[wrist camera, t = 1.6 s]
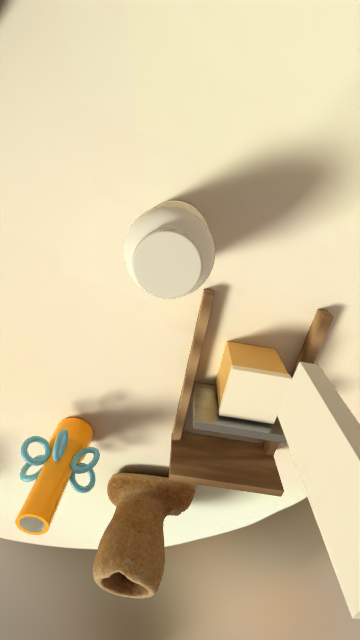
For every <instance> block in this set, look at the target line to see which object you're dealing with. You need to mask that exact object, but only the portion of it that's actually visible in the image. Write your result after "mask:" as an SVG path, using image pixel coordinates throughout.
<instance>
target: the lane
mask: <svg viewBox="0 0 360 640" xmlns="http://www.w3.org/2000/svg"><path fill="white" fill-rule="evenodd" d="M213 300H214V292H213V290H207V289H204V292H203V296H202V301H201V305H200V310H199V314H198V319H197V324H196V328H195V333H194V337H193V342H192V346H191V351H190V355H189V360H188V364H187V369H186V374H185V378H184V383H183V387H182V392H181V396H180V401H179V405H178V410H177V415H176V419H175V424H174V428H173V433H172V440H171V453H170V467H169V480H173V481H179V482H186V483H193V484H200V485H207V486H213V487H220V488H227V489H234V490H240V491H247V492H254V493H261V494H268V495H274V496H282V494H283V492H284V490H283V486H282V483H281V480H280V476H279V473H278V470H277V466H276V463H275V460H274V456H273V455H274V453H275V451H276V448H277V446H278V444H279V442H275V441H269V440H265V442H264V444H263V445H262V444H256V443H249V442H243V441H236V440H230V439H223V438H217V437H211V436H204V435H198V434H191V433H185V432H182V430H183V426H184V422H185V417H186V413H187V409H188V405H189V401H190V396H191V392H192V388H193V384H194V379H195V375H196V371H197V367H198V363H199V358H200V354H201V350H202V346H203V342H204V337H205V333H206V329H207V325H208V321H209V316H210V312H211V308H212V304H213ZM332 319H333V316H332V315H331V314H330V313H329V312H328V311H326V310H320V309H318V310H317V313H316V315H315V318H314V320H313V323H312V325H311V328H310V330H309V333H308V335H307V338H306V340H305V342H304V345H303V347H302V350H301V352H300V355H299V357H298V360H297V362H296V365H295V367H294V370H293V372H292V375H291V378H293V376H294V373H295V371H296V369H297V366H298V364H299V362H305V363H311V364H313V363H314V361H315V358H316V356H317V354H318V351H319V349H320V347H321V344H322V342H323V340H324V338H325V335H326V333H327V331H328V328H329V326H330V324H331V321H332Z"/></svg>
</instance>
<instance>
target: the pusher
mask: <svg viewBox="0 0 360 640" xmlns="http://www.w3.org/2000/svg"><path fill="white" fill-rule="evenodd" d="M218 410H219V403H218V395H217V387H216V386H215V385H208V384H202V383H196V382H194V385H193V429H198V430H205V431H211V432H218V433H224V434H230V435H237V436H243V437H250V438H256V439H262V440H269V441H275V442H282V443H287V440H286V438H285V435H284V432H283V429H282V427H281V424H280V421H279V419H278V416H277V417H276V420H275V422H274V424H270V423H264V422H258V421H252V420H245V419H239V418H233V417H226V416H220V415H219V411H218Z"/></svg>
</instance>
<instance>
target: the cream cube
mask: <svg viewBox="0 0 360 640" xmlns="http://www.w3.org/2000/svg"><path fill="white" fill-rule="evenodd" d="M291 380H292V378H291V376H290V374H288V372H287V371H286V369H285V367H284V365H283V363H282V361H281V359H280V357H279V355H278V353H277V351H276V349H271V348H265V347H259V346H253V345H247V344H241V343H235V342H230V341H227V343H226V346H225V350H224V354H223V357H222V361H221V365H220V368H219V372H218V375H217V379H216V387H217V395H218V403H219V410H218V411H219V415H220V416H226V417H233V418H239V419H245V420H252V421H258V422H264V423H270V424H274V422H275V420H276V417H277V413H278V410H279V408H280V406H281V403H282V401H283V399H284V397H285V394H286V392H287V390H288V387H289V385H290V383H291Z"/></svg>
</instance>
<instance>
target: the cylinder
mask: <svg viewBox="0 0 360 640" xmlns="http://www.w3.org/2000/svg"><path fill="white" fill-rule="evenodd" d="M92 437H93V430H92V428H91V426H90V425H89V424H88V423H87V422H86V421H84V420H82V419H79V418H66V419H64V420H62V421H61V422H60V423H59V424H58V426H57V427H56V429H55V431H54V433H53V435H52V437H51V438H50V440H49V442H47V440H45V439H44V438H42V437H39V436H33V437H30V438H28V439H27V440H25V441H24V443H23V445H22V447H21V454H22V457H23V459H24V460H25V461H26V462H27V463H26V464H25V465H24V466H23V468H22V470H21V472H20V478H21V480H23V481H25V482H29V481H33V480H35V479H37V480H36V482H35V484H34V485H33V487H32V489H31V491H30V493H29V495H28V497H27V499H26V501H25V503H24V505H23V507H22V509H21V511H20V513H19V515H18V516H17V518H16V521H15V522H16V525H17V527H18V528H19V529H20V530H22V531H24V532H26V533H28V534H33V535H40V534H44V533H46V532H47V531H48V529H49V527H50V524H51V522H52V520H53V517H54V515H55V512H56V510H57V507H58V505H59V502H60V500H61V498H62V495H63V493H64V490H65V488H66V485H67V483H68V481H69V480H70V483H71V485H72V487H73V488H74V489H75V490H76V491H78V492H81V493H85V492H88V491H90V490H91V489H92V488H93V486H94V484H95V473H94V471H93V469H92V468H93V467H94V466H95V465H96V464H97V462H98V460H99V457H100V453H99V451H98V449H96V448H94V447H89V445H90V443H91V440H92ZM32 442H39V443H41V444H42V445H43V446H44V448H45V455H40V456H36V457H34V458H31V457H30V456H29V454H28V452H27V448H28V445H29V444H30V443H32ZM87 453H93V454H94V458H93V460H92V461H91V462H90V463H89V464H88V465H87V464H85V463H80V462H81V461H82V460H83V459H84V457H85V456H86V454H87ZM78 463H79V464H78ZM42 464H44V465H43V467H42V468H41V469H40V470H39V471H38V472H36V473H35V474H33V475H29V476H27V475H26V472H27V470H28V468H29V467H30V466H31V465H34V466H38V465H42ZM85 472H88V473H89V476H90V483H89V485H88V486H85V487H83V486H80V485H79V484H78V483H77V482H76V480H75V473H77V474H81V473H85Z"/></svg>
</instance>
